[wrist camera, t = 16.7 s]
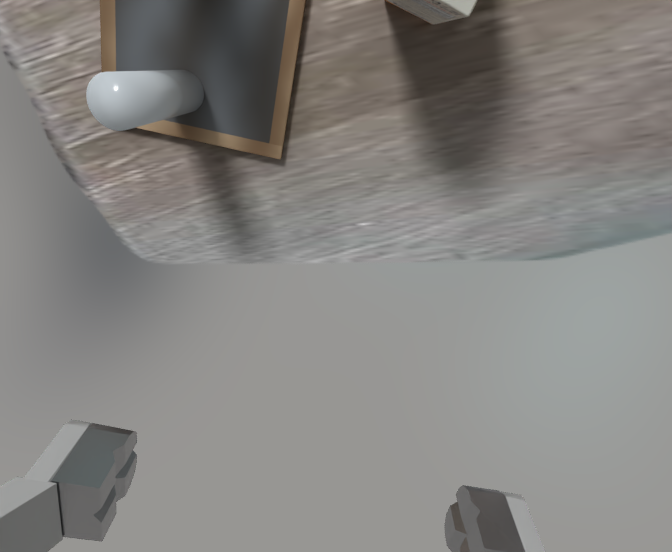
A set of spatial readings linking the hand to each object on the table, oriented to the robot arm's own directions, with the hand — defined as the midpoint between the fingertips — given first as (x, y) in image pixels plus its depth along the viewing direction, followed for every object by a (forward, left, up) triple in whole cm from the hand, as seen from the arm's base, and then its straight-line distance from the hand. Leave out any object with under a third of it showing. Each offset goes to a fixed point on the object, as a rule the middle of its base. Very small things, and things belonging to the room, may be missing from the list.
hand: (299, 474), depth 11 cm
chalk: (+14, -3, -33) cm, 36 cm away
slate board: (+13, -8, -34) cm, 37 cm away
